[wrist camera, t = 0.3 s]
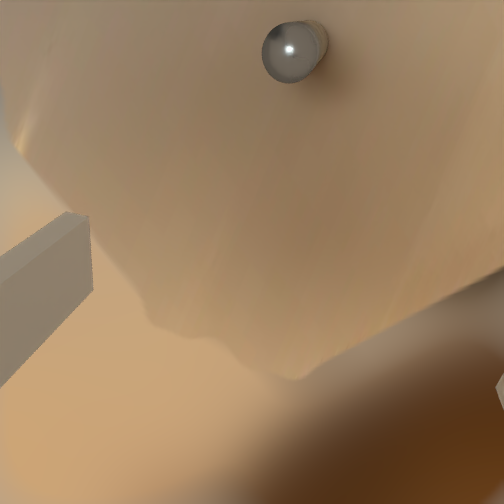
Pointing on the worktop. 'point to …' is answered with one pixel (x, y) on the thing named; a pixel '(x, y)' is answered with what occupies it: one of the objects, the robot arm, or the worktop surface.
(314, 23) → the peg
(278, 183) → the worktop surface
